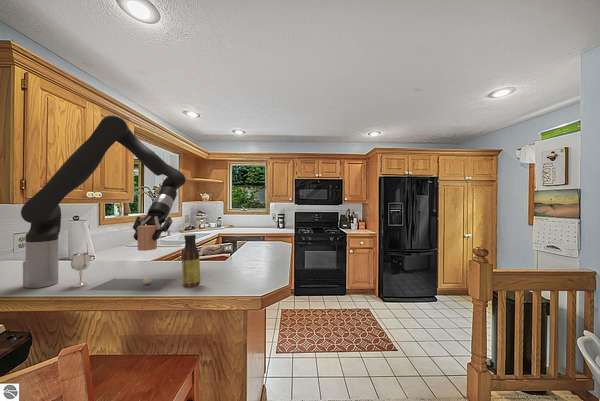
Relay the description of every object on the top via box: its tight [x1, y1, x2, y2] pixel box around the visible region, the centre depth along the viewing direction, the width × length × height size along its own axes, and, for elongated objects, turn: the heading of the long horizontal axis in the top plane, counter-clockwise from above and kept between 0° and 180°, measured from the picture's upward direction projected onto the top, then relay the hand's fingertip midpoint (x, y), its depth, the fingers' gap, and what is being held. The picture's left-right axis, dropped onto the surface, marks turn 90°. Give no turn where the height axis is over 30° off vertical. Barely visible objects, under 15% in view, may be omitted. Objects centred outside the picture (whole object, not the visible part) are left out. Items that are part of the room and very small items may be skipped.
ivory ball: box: [142, 276, 153, 285], centre depth 104 cm, size 3×3×3 cm
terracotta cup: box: [137, 224, 158, 252], centre depth 103 cm, size 6×6×9 cm
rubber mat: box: [87, 278, 177, 292], centre depth 104 cm, size 26×14×1 cm, turn 89°
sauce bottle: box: [181, 233, 201, 288], centre depth 103 cm, size 7×6×20 cm
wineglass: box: [70, 252, 91, 288], centre depth 104 cm, size 6×6×12 cm
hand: (144, 239), depth 102 cm, fingers closed on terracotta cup, 6 cm apart
